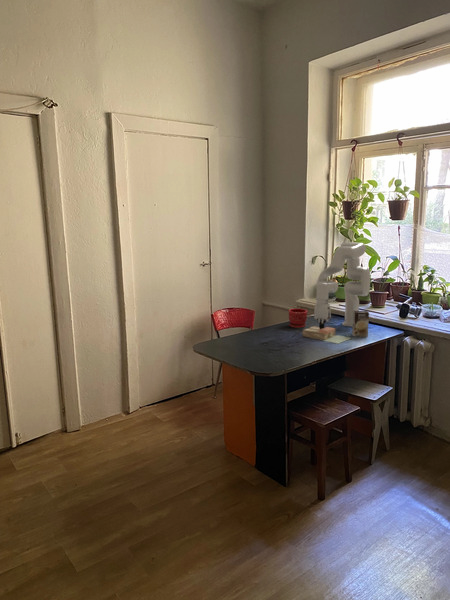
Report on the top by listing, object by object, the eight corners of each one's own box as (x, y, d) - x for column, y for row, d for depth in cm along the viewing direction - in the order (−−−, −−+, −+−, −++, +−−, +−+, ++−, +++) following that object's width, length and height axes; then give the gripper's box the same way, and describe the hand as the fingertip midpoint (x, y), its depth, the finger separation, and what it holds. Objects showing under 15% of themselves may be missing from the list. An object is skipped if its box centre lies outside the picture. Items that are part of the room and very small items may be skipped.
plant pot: (287, 328, 314) (287, 311, 312) (290, 323, 327) (290, 307, 324) (305, 329, 311) (306, 312, 308) (308, 324, 323) (308, 308, 321)
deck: (314, 331, 303) (314, 326, 303) (335, 335, 292) (335, 329, 292) (302, 336, 294) (302, 330, 293) (323, 340, 283) (323, 334, 282)
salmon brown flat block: (327, 329, 292) (327, 326, 292) (335, 331, 288) (335, 328, 288) (319, 332, 286) (319, 329, 286) (327, 334, 282) (327, 331, 282)
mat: (336, 335, 293) (336, 335, 293) (350, 338, 286) (351, 337, 286) (323, 340, 282) (323, 340, 282) (338, 343, 274) (338, 343, 274)
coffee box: (353, 336, 289) (354, 312, 286) (351, 334, 296) (352, 310, 293) (368, 336, 288) (369, 312, 285) (366, 334, 295) (367, 310, 292)
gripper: (335, 302, 285) (334, 329, 288) (315, 299, 295) (315, 326, 298) (329, 303, 279) (328, 332, 283) (309, 300, 290) (308, 328, 293)
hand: (321, 328), depth 291 cm, fingers closed
